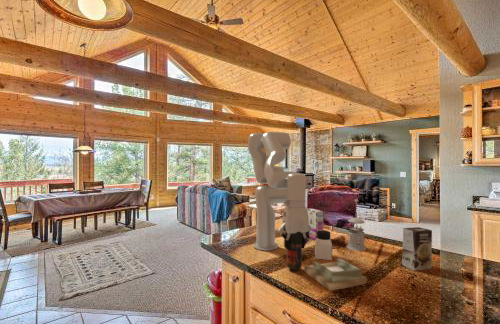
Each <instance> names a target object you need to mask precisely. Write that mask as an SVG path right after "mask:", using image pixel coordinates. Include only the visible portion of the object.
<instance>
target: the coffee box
mask: <svg viewBox="0 0 500 324" xmlns="http://www.w3.org/2000/svg"><path fill="white" fill-rule="evenodd" d="M432 238H433V230H431V229H427V228H424V227H420V226H416V227H415V226H413V227H403V228H402V258H401V259H402V260H401V262H402V263H401V264H402V266H404V267H406V268H408V269H409V270H412V271H422V270H431V269H432V259H433V258H432V257H433V256H432V251H433V250H432V249H433V248H432V246H433V245H432V243H433V239H432Z"/></svg>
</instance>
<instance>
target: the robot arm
mask: <svg viewBox="0 0 500 324" xmlns="http://www.w3.org/2000/svg"><path fill="white" fill-rule="evenodd" d="M291 143H292V141H291V137H290V135H289V134H288V133H287V132H283V131H282V132H279V131H267V132H254V133H251V134H249V136H248V138H247V147H248V151H249V154H250V157H251V158H252V163H253V172H254V177H255V180H256V181H255V182H257V183H258V184H262V185H259V186H258V187H256V188H255V190H254V191H255V192H254V196H255V204H256V234H255V235H256V236H255V237H256V238H255V240H256V241H255V242H254V243H253V248H254V249H255V250H259V251H266V252H267V251H274V250H276V249H278V247H279V244H278V243H276V231H277V232H278V234H279V235H280V236H281V237H282V238H283V241H284V242H283V247H284V248H285V249H286V251H287V250H290V240H289V237H290V235H291V234H295V233H297V232H301V233H302V249H305V245H306V239H307V235H308V234H309V232H310V231H311V230H312V227H311V226H310V225H309V217H308V210H307V209H308V207H306V195H307V194H306V193H307V192H306V191H307V190H306V189H307V176H306V175H305V174H304V173H298V172H296V171H285V170H284V168H283V167H282V166H279V165H278V164H281V163H282V162H284V160H285V159H286V157H287V153H286V150H288V149H289V148H290V146H291ZM263 149H264V151H265V152H264V151H263ZM272 204H283V205H284V206H285V207H284V210H283V215H282V224H281V225H280V227H279V228H278V229H277V230H276V211H275V209H274V207H273V206H272ZM283 231H284V232H283Z"/></svg>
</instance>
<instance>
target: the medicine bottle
mask: <svg viewBox="0 0 500 324" xmlns="http://www.w3.org/2000/svg"><path fill="white" fill-rule="evenodd" d="M314 255H315V259H316V260H324V261H333V244H332V240H331V232H330V231H329V230H327V229H326V230H324V229H323V230H319V231H317V239H315V240H314Z"/></svg>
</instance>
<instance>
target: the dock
mask: <svg viewBox="0 0 500 324" xmlns="http://www.w3.org/2000/svg"><path fill="white" fill-rule="evenodd" d="M303 270H304V272H305V274H307V275H309V277H311V278H312V279H314V280H315V281H316V282H318V283H319V284H321V285H322V286H323V287H324V288H325V289H326V290H328V291H330V292H331V291H335V290H340V289H341V290H342V289H346V288H351V287H356V286H361V285H362V286H363V285H367V284H368V278H367V277H366V276H364V275H362V269H361V268H359V267H357V266H355V265H353V264H352V263H350V262H348V261H346V260H344V259H342V258H341V257H337V258H336V261H333V262H327V263H326V262H325V263H320V262H318V261H316V260H315V261H313V263H312V265H305V266H304V268H303ZM366 283H367V284H366Z"/></svg>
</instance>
